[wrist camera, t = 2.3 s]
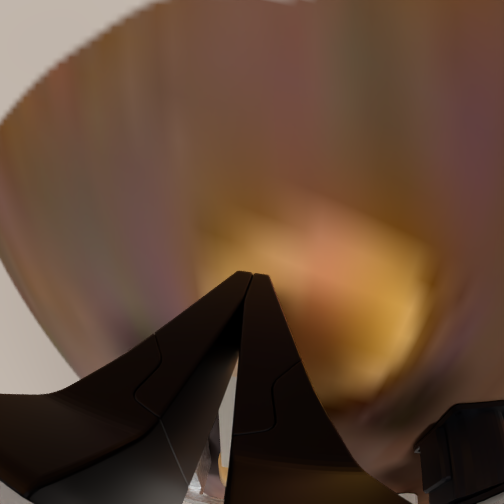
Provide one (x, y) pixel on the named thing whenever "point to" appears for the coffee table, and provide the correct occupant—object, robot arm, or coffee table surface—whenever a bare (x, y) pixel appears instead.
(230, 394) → the white elongated bar
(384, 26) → the coffee table surface
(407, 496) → the white cup
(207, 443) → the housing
